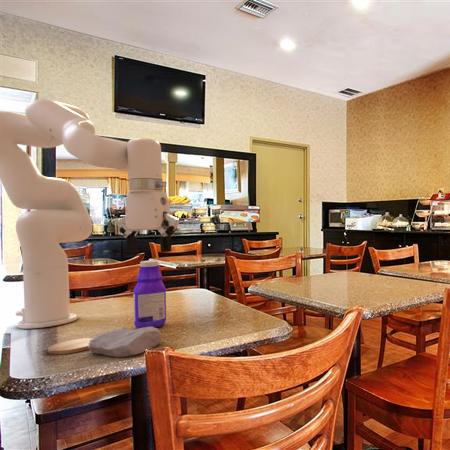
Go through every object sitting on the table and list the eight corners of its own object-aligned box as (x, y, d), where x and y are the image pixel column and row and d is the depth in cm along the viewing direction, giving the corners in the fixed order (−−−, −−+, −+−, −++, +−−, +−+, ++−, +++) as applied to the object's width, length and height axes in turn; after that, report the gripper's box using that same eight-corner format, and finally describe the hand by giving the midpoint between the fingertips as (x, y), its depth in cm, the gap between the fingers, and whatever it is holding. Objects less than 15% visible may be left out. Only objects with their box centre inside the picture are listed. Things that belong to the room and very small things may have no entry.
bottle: (163, 322, 112) (161, 259, 112) (169, 326, 108) (167, 260, 108) (132, 327, 107) (129, 261, 107) (137, 332, 103) (135, 263, 103)
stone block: (134, 365, 84) (166, 341, 94) (129, 344, 83) (161, 321, 92) (82, 366, 85) (118, 342, 95) (76, 345, 84) (113, 323, 94)
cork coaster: (36, 353, 87) (36, 350, 87) (75, 340, 96) (75, 337, 96) (73, 354, 86) (73, 351, 86) (109, 341, 95) (109, 338, 95)
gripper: (186, 186, 109) (188, 250, 110) (127, 189, 111) (130, 251, 112) (166, 184, 102) (169, 252, 102) (104, 187, 104) (107, 254, 104)
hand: (149, 252), depth 107 cm, fingers open, 9 cm apart
